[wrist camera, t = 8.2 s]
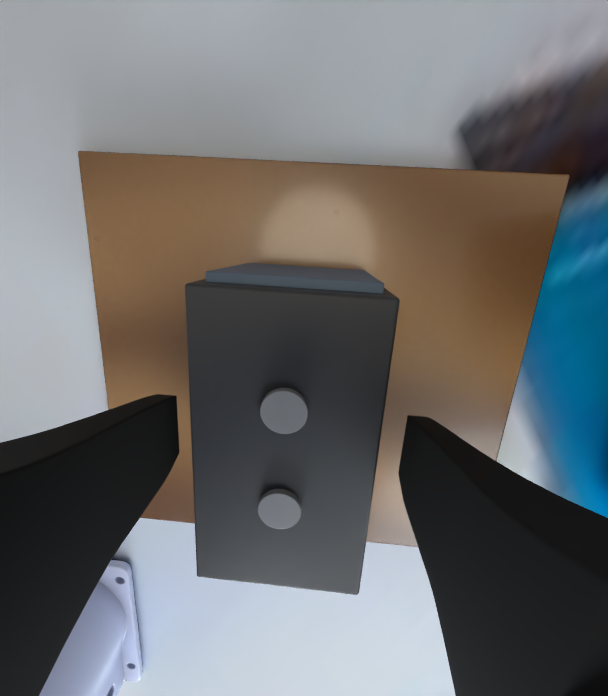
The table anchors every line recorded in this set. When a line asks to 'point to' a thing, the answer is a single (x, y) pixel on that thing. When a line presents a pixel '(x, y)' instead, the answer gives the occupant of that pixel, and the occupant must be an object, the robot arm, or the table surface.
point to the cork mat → (329, 252)
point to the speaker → (286, 420)
